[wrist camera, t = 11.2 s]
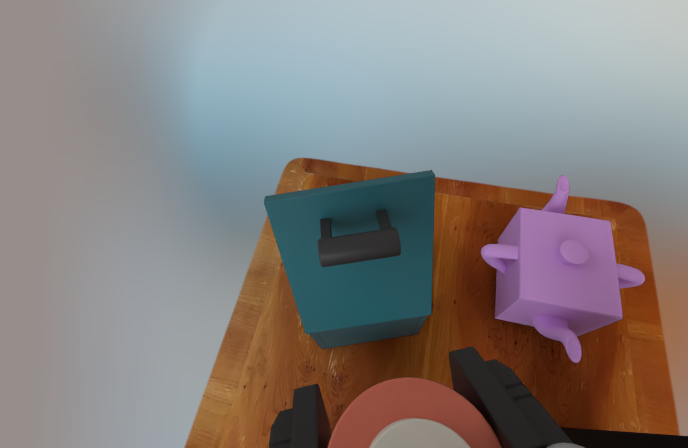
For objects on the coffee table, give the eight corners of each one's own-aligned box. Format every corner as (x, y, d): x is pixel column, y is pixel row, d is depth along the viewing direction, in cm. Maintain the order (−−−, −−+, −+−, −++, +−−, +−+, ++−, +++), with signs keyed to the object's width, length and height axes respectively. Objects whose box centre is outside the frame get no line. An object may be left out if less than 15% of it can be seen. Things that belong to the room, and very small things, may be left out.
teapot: (624, 316, 40) (702, 286, 30) (531, 375, 38) (583, 362, 28) (530, 217, 47) (569, 166, 37) (447, 262, 45) (466, 220, 35)
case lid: (264, 195, 24) (255, 241, 20) (431, 169, 24) (457, 209, 19) (305, 327, 32) (305, 377, 28) (429, 308, 32) (446, 356, 28)
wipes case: (311, 246, 47) (297, 209, 39) (395, 233, 47) (399, 193, 39) (321, 349, 41) (306, 331, 32) (418, 334, 41) (429, 312, 32)
